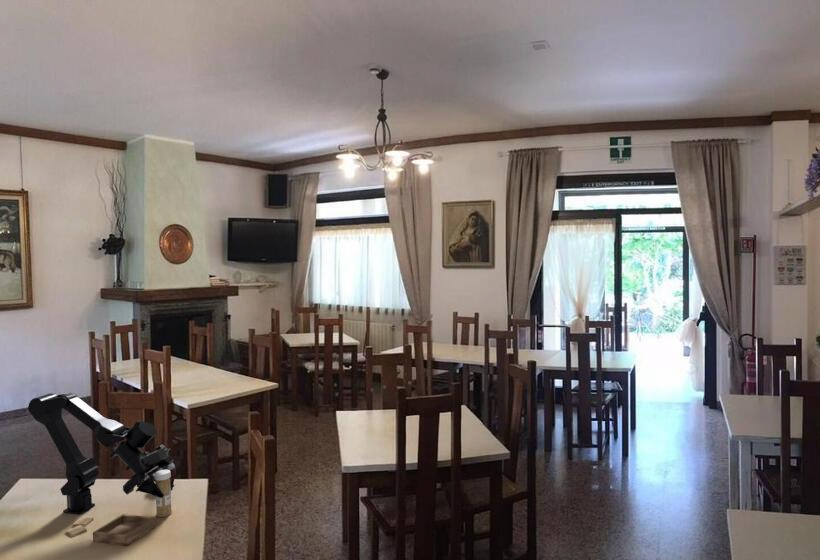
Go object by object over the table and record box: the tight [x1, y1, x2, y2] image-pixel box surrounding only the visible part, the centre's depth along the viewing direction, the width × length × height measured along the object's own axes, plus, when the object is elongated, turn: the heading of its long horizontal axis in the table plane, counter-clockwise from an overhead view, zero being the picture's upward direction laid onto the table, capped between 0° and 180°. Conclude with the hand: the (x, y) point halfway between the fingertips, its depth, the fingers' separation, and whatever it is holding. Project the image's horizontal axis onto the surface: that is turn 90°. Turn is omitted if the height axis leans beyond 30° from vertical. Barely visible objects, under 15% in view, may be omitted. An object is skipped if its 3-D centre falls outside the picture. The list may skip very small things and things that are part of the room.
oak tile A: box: [72, 517, 95, 528], centre depth 169 cm, size 4×4×1 cm
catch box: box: [92, 513, 157, 547], centre depth 163 cm, size 12×12×2 cm
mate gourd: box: [166, 447, 177, 488], centre depth 195 cm, size 8×8×15 cm
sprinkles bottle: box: [154, 470, 173, 518], centre depth 174 cm, size 5×5×13 cm
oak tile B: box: [65, 525, 88, 538], centre depth 164 cm, size 4×4×1 cm
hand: (167, 493), depth 174 cm, fingers closed on sprinkles bottle, 4 cm apart
